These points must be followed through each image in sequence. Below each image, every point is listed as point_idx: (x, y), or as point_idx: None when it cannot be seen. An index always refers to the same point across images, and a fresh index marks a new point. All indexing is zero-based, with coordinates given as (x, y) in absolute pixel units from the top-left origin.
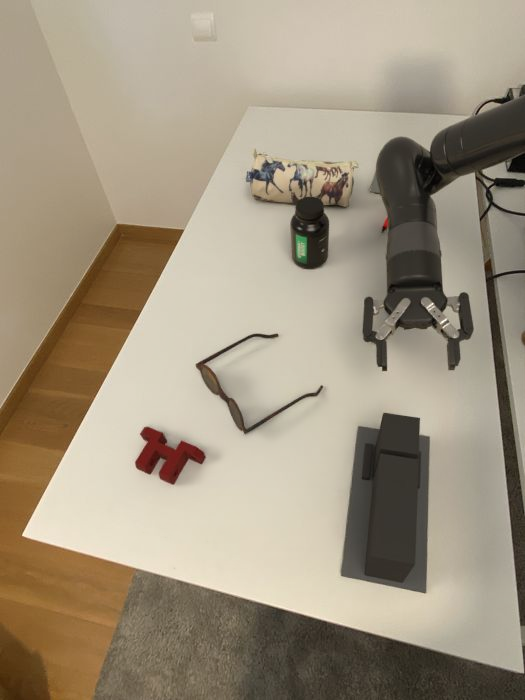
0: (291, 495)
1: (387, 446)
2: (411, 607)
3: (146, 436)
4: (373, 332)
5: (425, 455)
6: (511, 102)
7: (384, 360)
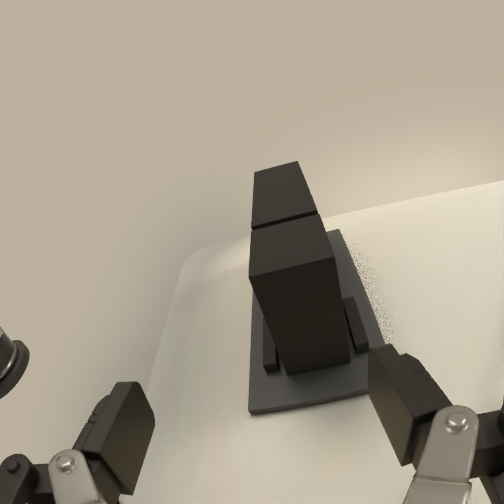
0: (433, 259)
1: (307, 219)
2: None
3: None
4: (492, 441)
5: (256, 374)
6: None
7: (387, 354)
